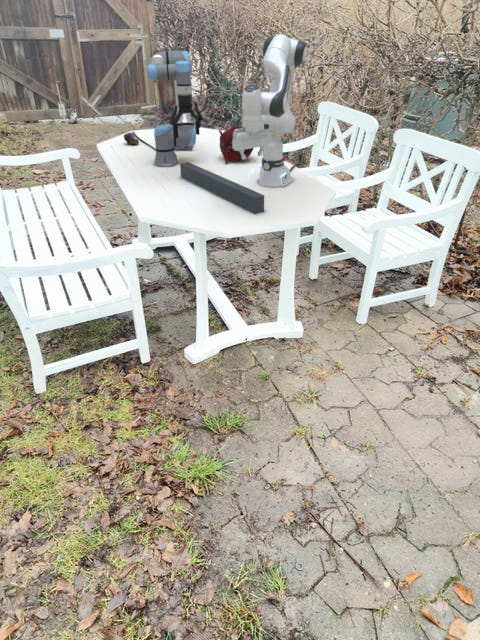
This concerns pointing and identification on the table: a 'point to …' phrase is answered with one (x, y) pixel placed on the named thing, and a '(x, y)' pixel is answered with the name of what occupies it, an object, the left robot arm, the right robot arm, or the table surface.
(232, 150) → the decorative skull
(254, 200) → the post
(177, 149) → the koala plush
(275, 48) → the right robot arm
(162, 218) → the table surface
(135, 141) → the rock
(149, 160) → the table surface
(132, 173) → the table surface
